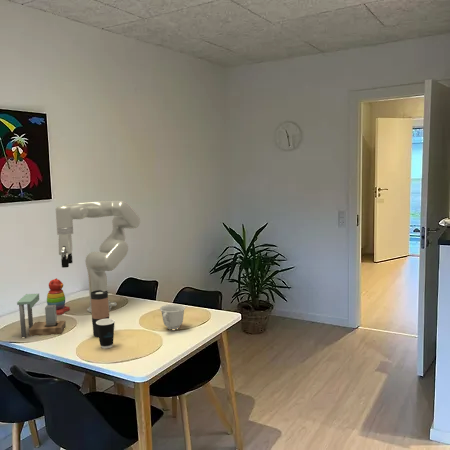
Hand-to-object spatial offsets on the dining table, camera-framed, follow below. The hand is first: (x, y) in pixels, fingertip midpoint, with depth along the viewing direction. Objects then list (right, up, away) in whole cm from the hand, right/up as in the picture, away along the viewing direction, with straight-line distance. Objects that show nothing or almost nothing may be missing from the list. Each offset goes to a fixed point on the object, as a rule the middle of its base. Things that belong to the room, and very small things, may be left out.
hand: (67, 265), depth 231 cm
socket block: (-5, -30, -11) cm, 33 cm away
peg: (-3, -30, -11) cm, 32 cm away
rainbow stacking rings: (-12, -27, +19) cm, 35 cm away
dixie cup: (+28, -32, -32) cm, 53 cm away
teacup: (+53, -29, -13) cm, 62 cm away
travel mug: (+22, -30, -18) cm, 41 cm away
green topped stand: (-12, -30, -12) cm, 35 cm away
